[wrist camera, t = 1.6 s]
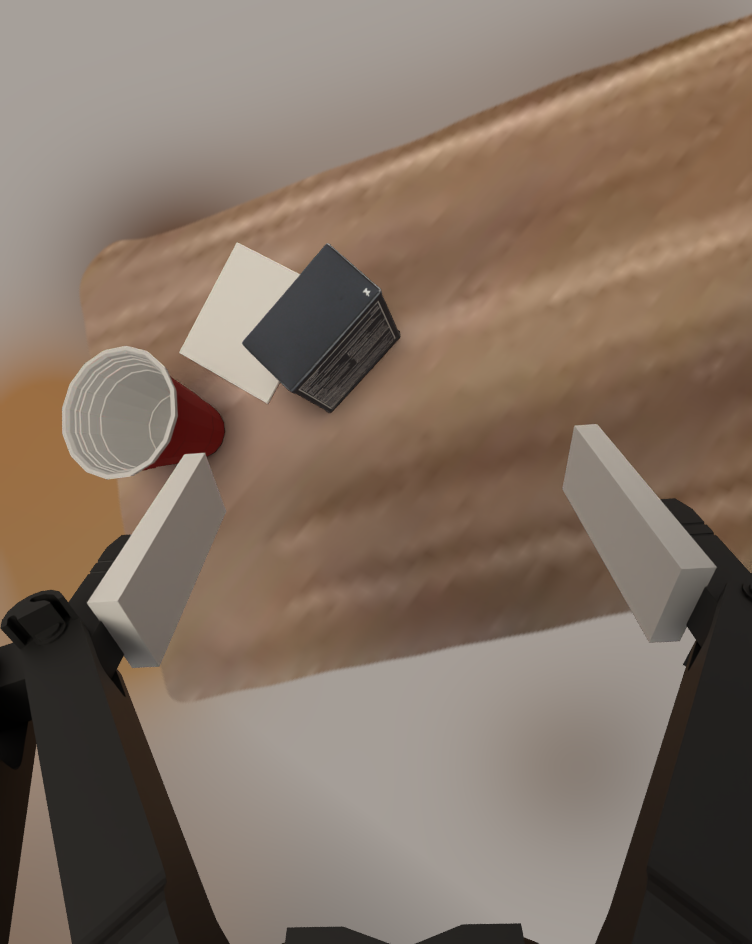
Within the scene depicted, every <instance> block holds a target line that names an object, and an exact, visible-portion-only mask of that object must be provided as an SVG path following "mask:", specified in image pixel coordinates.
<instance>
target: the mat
mask: <svg viewBox="0 0 752 944" xmlns="http://www.w3.org/2000/svg"><path fill="white" fill-rule="evenodd" d="M299 275H300V274H298V273H296V272H294V271H292V270H290V269H288V268H286V267H284V266H282V265H280V264H279V263H277V262H275V261H273V260H271V259H269V258H267V257H265V256H263V255H261V254H259V253H257V252H255V251H253V250H251V249H249V248H247V247H245V246H243V245H241V244H239V243H236V245H235V247H234V249H233V251H232V253H231V255H230V257H229V259H228V260H227V262H226V264H225V266H224V268H223V270H222V272H221V274H220V276H219V278H218V280H217V281H216V283H215V285H214V287H213V289H212V291H211V293H210V295H209V297H208V299H207V301H206V302H205V304H204V306H203V308H202V310H201V312H200V314H199V316H198V318H197V320H196V322H195V323H194V325H193V327H192V329H191V331H190V333H189V335H188V337H187V339H186V341H185V343H184V344H183V346H182V348H181V350H180V352H179V353H181V354H182V355H184V356H186V357H188V358H189V359H191V360H193V361H194V362H196V363H198V364H200V365H201V366H203V367H205V368H207V369H208V370H210V371H212V372H213V373H215V374H217V375H219V376H220V377H222V378H224V379H226V380H227V381H229V382H231V383H232V384H234V385H236V386H238V387H239V388H241V389H243V390H245V391H246V392H248V393H250V394H251V395H253V396H255V397H257V398H258V399H260V400H262V401H264V402H265V403H267V404H269V402H270V400H271V398H272V396H273V394H274V393H275V391H276V389H277V387H278V385H279V383H280V382H279V381H278V380H277V379H276V378H275V377H274V376H273V375H272V374H271V373H270V372H269V371H268V370H267V369H266V368H265V367H264V366H263V365H262V364H261V363H260V362H259V361H258V360H257V359H256V358H255V357H254V356H253V355H252V354H251V353H250V352H249V351H248V350H247V349H246V348H245V347H244V346H243V345H242V342H243V340H244V339H245V338H246V337H247V336H248V335H249V333H250V332H251V331H252V330H253V329H254V328H255V326H256V325H257V324H258V323H259V322H260V321H261V320H262V318H263V317H264V316H265V315H266V314H267V313H268V311H269V310H270V309H271V308H272V307H273V306H274V304H275V303H276V302H277V301H278V300H279V299H280V297H281V296H282V295H283V294H284V293H285V292H286V290H287V289H288V288H289V287H290V286H291V285H292V283H293V282H294V281H295V280H296V279H297V278H298V276H299Z"/></svg>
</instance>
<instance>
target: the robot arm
mask: <svg viewBox="0 0 752 944" xmlns="http://www.w3.org/2000/svg"><path fill="white" fill-rule="evenodd" d="M562 489H563V491H564V493H565V494H566V496H567V498H568V500H569V501H570V503H571V505H572V507H573V509H574V510H575V512H576V514H577V516H578V517H579V519H580V521H581V523H582V524H583V526H584V528H585V530H586V532H587V533H588V535H589V537H590V539H591V540H592V542H593V544H594V546H595V547H596V549H597V551H598V553H599V555H600V556H601V558H602V560H603V562H604V563H605V565H606V567H607V569H608V570H609V572H610V574H611V576H612V578H613V579H614V581H615V583H616V585H617V586H618V588H619V590H620V592H621V593H622V595H623V597H624V599H625V601H626V602H627V604H628V606H629V608H630V609H631V611H632V613H633V615H634V616H635V618H636V620H637V622H638V623H639V625H640V627H641V629H642V631H643V632H644V634H645V636H646V637H647V639H648V641H649V642H650V643H651V642H671V641H680V639H681V637H682V635H683V633H684V631H685V629H686V627H688V628H689V630H690V631H691V633H692V634H693V636H694V637H695V639H696V641H695V643H694V645H693V647H692V649H691V651H690V652H689V654H688V656H687V658H686V660H685V662H684V664H683V665H685V666H686V669H685V672H684V675H683V678H682V681H681V684H680V688H679V691H678V694H677V697H676V700H675V703H674V707H673V710H672V713H671V716H670V719H669V722H668V726H667V729H666V732H665V735H664V739H663V741H662V745H661V748H660V751H659V754H658V757H657V761H656V764H655V767H654V770H653V773H652V776H651V779H650V783H649V786H648V789H647V792H646V795H645V799H644V802H643V805H642V808H641V811H640V815H639V818H638V821H637V824H636V827H635V830H634V833H633V837H632V840H631V843H630V846H629V849H628V853H627V856H626V859H625V862H624V865H623V868H622V871H621V875H620V878H619V881H618V884H617V887H616V890H615V894H614V897H613V900H612V903H611V906H610V909H609V912H608V915H607V917H606V920H605V922H604V924H603V926H602V929H601V931H600V933H599V936H598V938H597V941H596V943H595V944H752V573H750V572H749V571H748V570H747V569H746V568H745V567H744V565H743V564H742V563H741V562H740V561H739V560H738V559H737V558H736V557H735V555H734V554H733V553H732V552H731V551H730V550H729V549H728V548H727V547H726V546H725V544H724V543H723V542H722V541H721V540H720V539H719V538H718V537H717V536H716V535H714V532H713V531H712V530H711V529H710V528H709V527H708V526H707V525H705V524H704V521H703V520H702V519H701V518H700V517H699V516H698V515H697V514H696V512H695V511H694V510H693V509H691V508H690V507H688V506H687V505H685V504H683V503H682V502H680V501H678V500H677V499H675V498H674V499H659V498H658V496H657V495H656V494H655V493H654V492H653V490H652V489H651V488H650V487H649V486H648V484H647V483H646V482H645V481H644V480H643V478H642V477H641V476H640V475H639V474H638V472H637V471H636V470H635V469H634V468H633V466H632V465H631V464H630V463H629V462H628V460H627V459H626V458H625V457H624V456H623V455H622V453H621V452H620V451H619V450H618V449H617V447H616V446H615V445H614V444H613V443H612V441H611V440H610V439H609V438H608V437H607V435H606V434H605V433H604V432H603V431H602V429H601V428H600V427H599V426H598V425H597V424H590V425H577V426H574V431H573V436H572V441H571V446H570V452H569V457H568V462H567V467H566V473H565V478H564V483H563V488H562ZM225 513H226V509H225V507H224V504H223V501H222V498H221V496H220V493H219V490H218V487H217V484H216V482H215V479H214V476H213V473H212V471H211V468H210V465H209V462H208V460H207V457H206V454H205V453H196V454H184V456H183V457H182V459H181V460H180V462H179V463H178V465H177V466H176V468H175V469H174V471H173V472H172V474H171V476H170V477H169V479H168V480H167V482H166V483H165V485H164V486H163V488H162V489H161V491H160V492H159V494H158V495H157V497H156V498H155V500H154V501H153V503H152V504H151V506H150V508H149V509H148V511H147V512H146V514H145V515H144V517H143V518H142V520H141V521H140V523H139V524H138V526H137V527H136V529H135V530H134V532H133V533H132V535H121V536H120V537H119V538H118V539H116V540H115V541H114V542H113V543H112V544H110V545H109V546H108V547H107V548H106V549H105V551H104V552H103V554H102V555H101V557H100V558H99V560H98V563H96V564H95V565H94V567H93V568H92V570H91V571H90V574H88V575H87V577H86V578H85V579H84V581H83V582H82V584H81V585H80V587H79V588H78V590H77V591H76V592H75V594H74V595H73V597H72V598H71V600H70V601H69V602H67V600H66V599H65V598H64V596H63V595H62V594H61V593H60V592H59V591H54V590H47V591H41V592H38V593H35V594H33V595H30V596H28V597H27V598H25V599H23V600H22V601H20V602H18V603H17V604H16V605H15V606H14V607H12V608H11V609H10V610H9V611H8V612H7V614H6V615H5V617H4V618H3V619H2V623H1V629H2V631H3V632H4V633H5V634H6V635H7V636H8V637H9V638H10V639H11V640H12V641H13V643H11V644H8V645H5V646H2V647H0V944H8V941H9V934H10V927H11V920H12V913H13V906H14V899H15V891H16V885H17V878H18V871H19V864H20V857H21V849H22V842H23V835H24V828H25V820H26V814H27V807H28V799H29V793H30V786H31V778H32V772H33V764H34V757H35V750H36V744H37V749H38V755H39V760H40V766H41V771H42V777H43V783H44V789H45V794H46V800H47V806H48V811H49V816H50V822H51V828H52V833H53V839H54V844H55V850H56V856H57V861H58V867H59V872H60V878H61V884H62V889H63V895H64V901H65V907H66V912H67V918H68V924H69V929H70V935H71V940H72V944H229V942H228V940H227V938H226V936H225V935H224V933H223V931H222V929H221V928H220V926H219V924H218V922H217V920H216V918H215V915H214V913H213V911H212V908H211V906H210V903H209V900H208V898H207V895H206V893H205V890H204V887H203V885H202V882H201V880H200V877H199V874H198V872H197V869H196V867H195V864H194V861H193V859H192V856H191V854H190V851H189V849H188V846H187V843H186V841H185V838H184V836H183V833H182V830H181V828H180V825H179V823H178V820H177V817H176V815H175V813H174V810H173V807H172V804H171V802H170V799H169V797H168V794H167V791H166V789H165V786H164V784H163V781H162V779H161V776H160V773H159V771H158V768H157V766H156V763H155V760H154V758H153V755H152V753H151V750H150V747H149V745H148V742H147V740H146V737H145V735H144V732H143V730H142V727H141V724H140V722H139V719H138V716H137V714H136V712H135V709H134V706H133V704H132V701H131V698H130V696H129V693H128V690H127V688H126V686H125V683H124V680H123V677H122V675H121V674H120V672H119V671H118V670H117V668H118V666H119V664H120V661H121V660H122V658H123V656H124V657H125V658H126V659H127V661H128V662H129V664H130V665H131V667H132V668H140V667H159V666H160V664H161V661H162V659H163V657H164V654H165V652H166V650H167V647H168V645H169V643H170V640H171V638H172V636H173V633H174V631H175V629H176V627H177V624H178V622H179V620H180V617H181V615H182V613H183V610H184V608H185V606H186V603H187V601H188V599H189V596H190V594H191V592H192V589H193V587H194V585H195V582H196V580H197V578H198V575H199V573H200V571H201V569H202V566H203V564H204V562H205V559H206V557H207V555H208V552H209V550H210V548H211V545H212V543H213V541H214V538H215V536H216V534H217V531H218V529H219V527H220V524H221V522H222V520H223V517H224V515H225ZM282 944H389V943H386V942H383V941H381V940H378V939H375V938H373V937H370V936H367V935H364V934H362V933H359V932H356V931H353V930H351V929H348V928H345V927H295V928H287V932H286V940H285V943H282ZM416 944H538V943H537V942H535V941H532V940H529V939H527V938H524V937H523V932H522V927H521V924H468V925H467V924H466V925H460V926H458V927H455V928H453V929H450V930H448V931H445V932H443V933H440V934H438V935H436V936H433V937H431V938H428V939H426V940H424V941H421V942H419V943H416Z"/></svg>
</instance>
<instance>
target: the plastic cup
mask: <svg viewBox="0 0 752 944" xmlns="http://www.w3.org/2000/svg"><path fill="white" fill-rule="evenodd" d="M62 429H63V430H62V433H63V436H64V439H65V442H66V444H67V447H68V450H69V452H70V455H71V457H72V458H73V459H74V460H75V461H76V462H77V463H78V464H79V465H80V466H81V467H82V468H83V469H84V470H85V471H86V472H88V473H91V474H94V475H96V476H99V477H102V478H105V479H113V478H121V477H129V476H133V475H135V474H137V473H139V472H140V471H142V470H147V469H151V468H156V467H158V466H165V465H171V464H177V463H179V462H180V460H181V459H182V457H183V456H184V454H196V453H205V454H206V457H207V456H209V455H211V454H212V453H214V452H216V450H217V449H218V448H219V446H220V445H221V444H222V440H223V437H224V433H225V432H224V422H223V420H222V418H221V416H220V414H219V413H218V412H217V410H215V409H214V408H213V407H212V406H211V405H209V404H208V403H206V402H205V401H203V400H202V399H201V398H200V397H198V396H197V395H196V394H195V393H193V392H192V391H190V390H189V389H187V388H186V387H185V386H183V385H182V384H180V383H179V382H177V381H176V380H174V379H173V378H172V377H171V376H170V375H169V373H168V371H167V369H166V368H165V367H164V366H163V365H162V364H161V363H160V362H159V361H158V360H156V359H155V358H154V357H153V356H152V355H151V354H150V353H149V352H147V351H144V350H140V349H136V348H133V347H129V346H123V347H118V348H113V349H108V350H104V351H102V352H101V353H100V354H98V355H97V356H95V357H94V358H92V359H91V360H89V361H88V362H86V363H85V364H84V365H83V367H82V368H81V369H80V371H79V372H78V374H77V375H76V376H75V378H74V379H73V381H72V382H71V383H70V385H69V389H68V392H67V395H66V398H65V401H64V404H63V407H62Z"/></svg>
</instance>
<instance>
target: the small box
mask: <svg viewBox="0 0 752 944" xmlns="http://www.w3.org/2000/svg"><path fill="white" fill-rule="evenodd" d="M399 338H400V331H399V330H398V329H397V327H396V325H395V323H394V320H393V318H392V316H391V313H390V311H389V309H388V307H387V304H386V302H385V300H384V298H383V295H382V291H381V289H380V288H379V287H378V286H377V285H375V284H374V283H373V282H372V281H371V280H370V279H369V278H368V277H366V276H365V275H364V274H363V273H362V272H361V271H360V270H358V269H357V268H356V267H355V266H354V265H353V264H352V263H350V262H349V261H348V260H347V259H346V258H345V257H344V256H342V255H341V254H340V253H339V252H338V251H337V250H335V249H334V248H333V247H332V246H331V245H330V244H328V243H327V244H326V245H325V246H324V247H323V248H322V249H321V251H320V252H319V253H318V254H317V255H316V256H315V258H314V259H313V260H312V261H311V262H310V263H309V265H308V266H307V267H306V268H305V269H304V270H303V272H302V273H301V274H300V275H299V276H298V278H297V279H296V280H295V281H294V282H293V283H292V285H291V286H290V287H289V288H288V289H287V290H286V292H285V293H284V294H283V295H282V296H281V297H280V299H279V300H278V301H277V302H276V303H275V304H274V306H273V307H272V308H271V309H270V310H269V311H268V313H267V314H266V315H265V316H264V317H263V318H262V320H261V321H260V322H259V323H258V324H257V325H256V326H255V328H254V329H253V330H252V331H251V332H250V333H249V335H248V336H247V337H246V338H245V339H244V340H243V342H242V345H243V346H244V347H245V348H246V349H247V350H248V351H249V352H250V353H251V354H252V355H253V356H254V357H255V358H256V359H257V360H258V361H259V362H260V363H261V364H262V365H263V366H264V367H265V368H266V369H267V370H268V371H269V372H270V373H271V374H272V375H273V376H274V377H275V378H276V379H277V380H278V381H279V382H280V383H281V384H283V385H284V386H285V387H286V388H287V389H288V390H289V391H290V392H292V393H295V394H297V395H299V396H301V397H303V398H305V399H306V400H308V401H310V402H312V403H313V404H316V405H317V406H319V407H321V408H323V409H324V410H325V411H327V412H328V413H331V412H332V411H333V410H334V409H335V408H336V407H337V406H338V405H339V404H340V402H341V401H342V400H343V399H344V398H345V397H346V396H347V395H348V394H349V393H350V392H351V390H352V389H354V387H355V386H356V385H357V384H358V383H359V382H360V381H361V380H362V378H363V377H364V376H365V375H366V374H367V373H368V372H369V371H370V370H371V369H372V368H373V367H374V365H375V364H376V363H377V362H378V361H379V360H380V359H381V358H382V357H383V355H384V354H385V353H386V352H387V351H388V350H389V349H390V348H391V347H392V345H393V344H394V343H395V342H396V341H397V340H398V339H399Z"/></svg>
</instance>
